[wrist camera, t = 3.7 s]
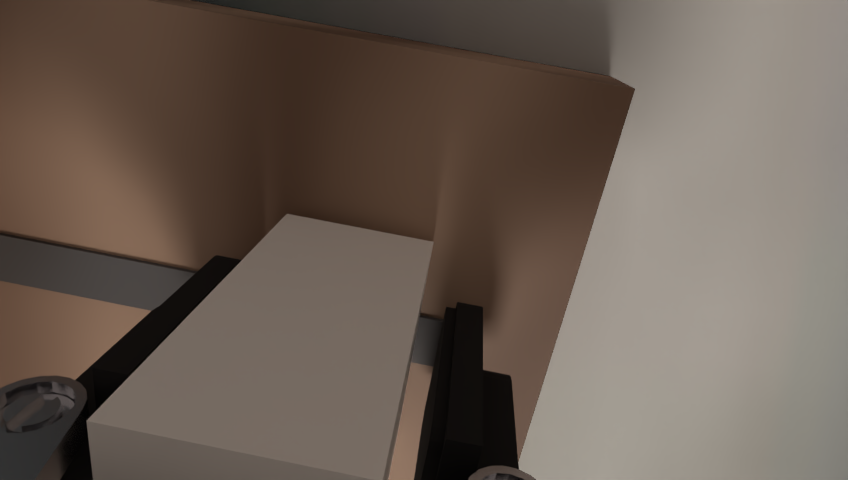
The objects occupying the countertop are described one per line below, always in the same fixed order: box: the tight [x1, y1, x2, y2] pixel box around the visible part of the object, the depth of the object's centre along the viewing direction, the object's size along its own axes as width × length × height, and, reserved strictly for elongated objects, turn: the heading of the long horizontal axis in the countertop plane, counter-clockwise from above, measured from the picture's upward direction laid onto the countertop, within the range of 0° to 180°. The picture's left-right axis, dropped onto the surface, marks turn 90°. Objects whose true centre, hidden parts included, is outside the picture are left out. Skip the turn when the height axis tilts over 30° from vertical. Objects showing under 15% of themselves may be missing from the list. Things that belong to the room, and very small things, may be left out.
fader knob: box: [86, 214, 434, 480], centre depth 9 cm, size 3×5×6 cm, turn 171°
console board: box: [0, 0, 635, 480], centre depth 13 cm, size 25×12×2 cm, turn 81°
